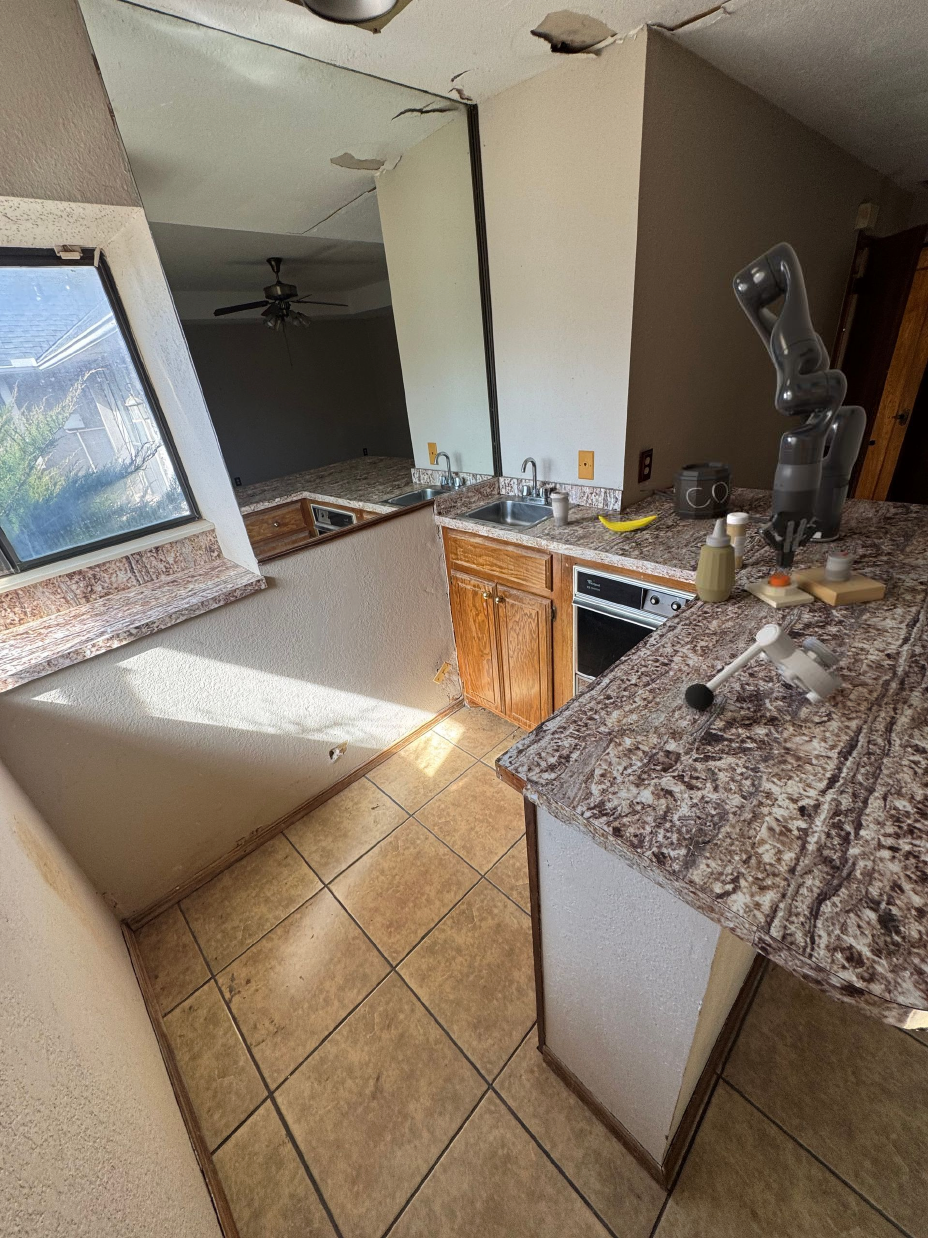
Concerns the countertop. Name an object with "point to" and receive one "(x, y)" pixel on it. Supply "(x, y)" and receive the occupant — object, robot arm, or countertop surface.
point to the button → (779, 580)
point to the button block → (779, 593)
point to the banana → (626, 524)
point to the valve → (789, 661)
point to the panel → (838, 587)
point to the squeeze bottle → (716, 566)
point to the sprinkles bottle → (737, 534)
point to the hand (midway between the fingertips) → (783, 566)
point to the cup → (560, 507)
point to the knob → (839, 566)
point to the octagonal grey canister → (703, 490)
